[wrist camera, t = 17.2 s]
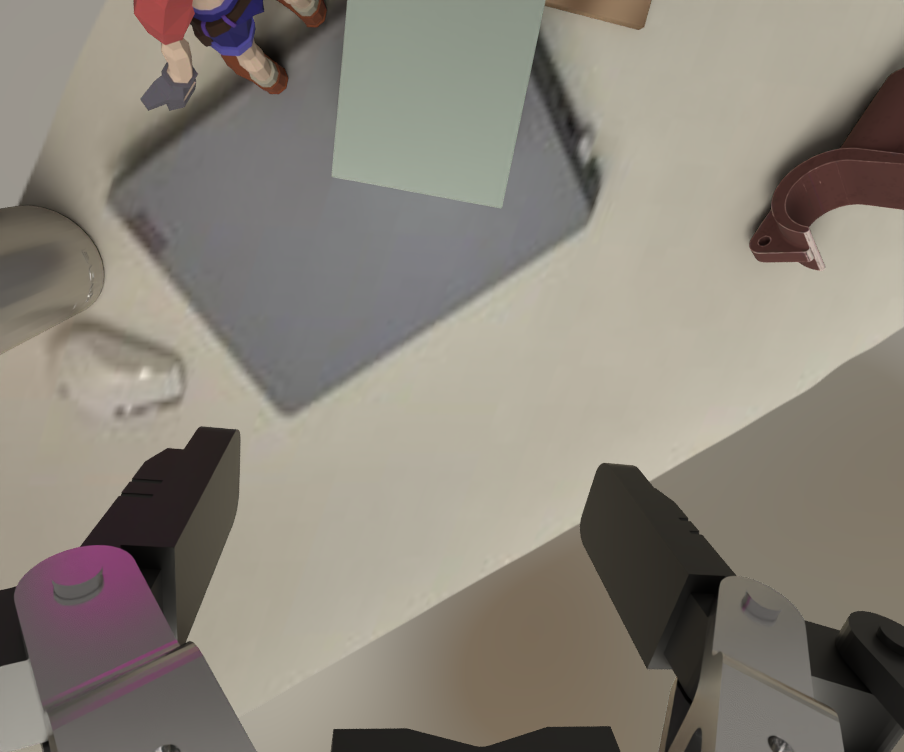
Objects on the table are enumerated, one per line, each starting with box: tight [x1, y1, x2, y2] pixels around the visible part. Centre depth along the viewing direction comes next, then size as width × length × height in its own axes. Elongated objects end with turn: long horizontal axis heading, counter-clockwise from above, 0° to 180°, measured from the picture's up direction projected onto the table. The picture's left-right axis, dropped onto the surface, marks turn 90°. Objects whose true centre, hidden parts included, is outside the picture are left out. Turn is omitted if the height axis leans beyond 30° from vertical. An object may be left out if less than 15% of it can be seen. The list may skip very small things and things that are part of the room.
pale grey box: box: [332, 0, 546, 208], centre depth 35 cm, size 11×15×13 cm
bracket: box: [749, 68, 904, 271], centre depth 44 cm, size 6×17×10 cm, turn 145°
